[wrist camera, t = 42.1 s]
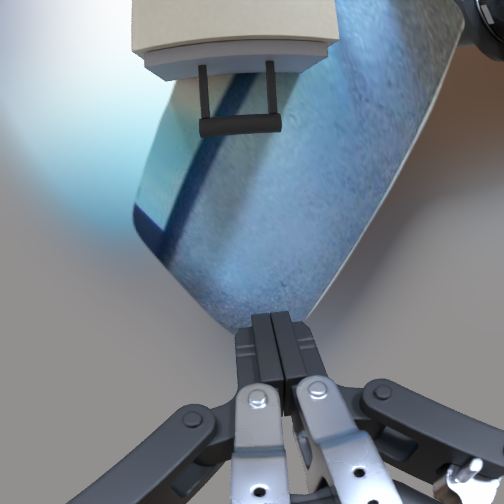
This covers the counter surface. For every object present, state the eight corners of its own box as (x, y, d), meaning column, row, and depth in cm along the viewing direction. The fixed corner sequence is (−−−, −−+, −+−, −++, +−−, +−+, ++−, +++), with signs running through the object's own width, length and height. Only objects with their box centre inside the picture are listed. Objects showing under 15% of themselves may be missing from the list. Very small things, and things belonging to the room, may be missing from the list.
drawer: (305, 130, 25) (332, 133, 19) (170, 140, 25) (150, 146, 18) (289, -43, 17) (307, -79, 10) (164, -37, 16) (149, -72, 9)
